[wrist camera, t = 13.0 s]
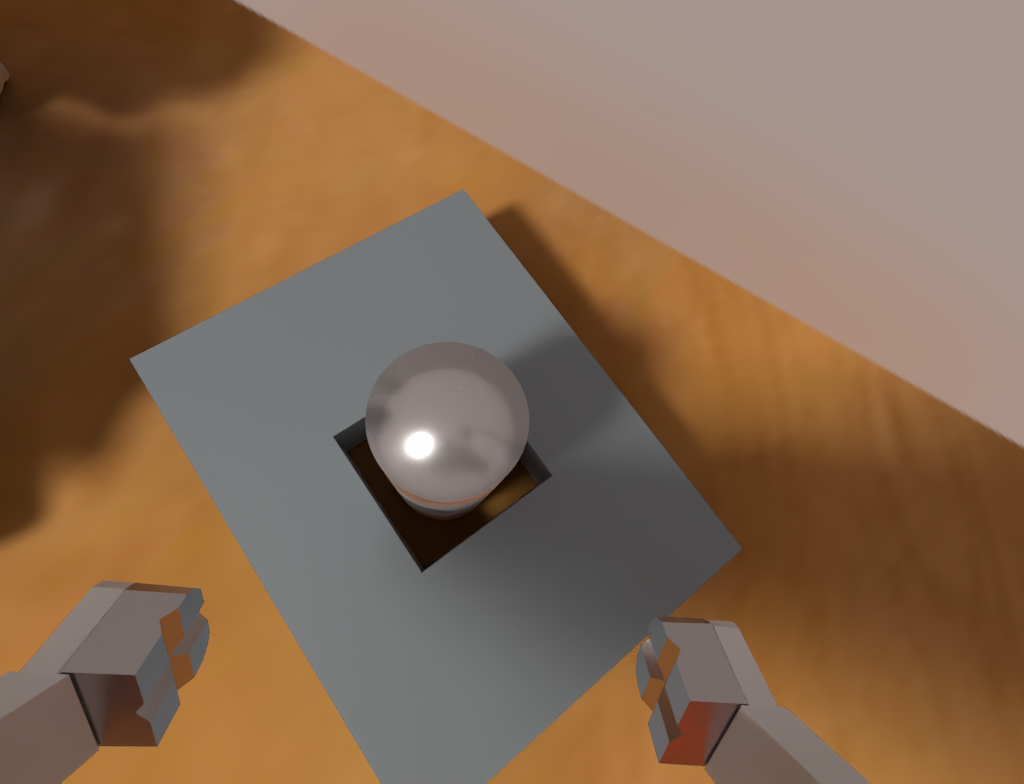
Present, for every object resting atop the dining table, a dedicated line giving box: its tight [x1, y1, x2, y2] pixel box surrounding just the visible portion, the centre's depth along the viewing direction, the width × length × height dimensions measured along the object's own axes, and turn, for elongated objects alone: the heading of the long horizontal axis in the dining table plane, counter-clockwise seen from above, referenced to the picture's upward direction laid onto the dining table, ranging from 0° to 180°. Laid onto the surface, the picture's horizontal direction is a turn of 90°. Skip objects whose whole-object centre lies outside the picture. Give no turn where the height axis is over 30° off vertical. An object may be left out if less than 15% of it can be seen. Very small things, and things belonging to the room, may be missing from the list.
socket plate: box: [130, 189, 742, 784], centre depth 20 cm, size 18×14×3 cm
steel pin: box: [365, 342, 529, 520], centre depth 17 cm, size 4×4×9 cm
